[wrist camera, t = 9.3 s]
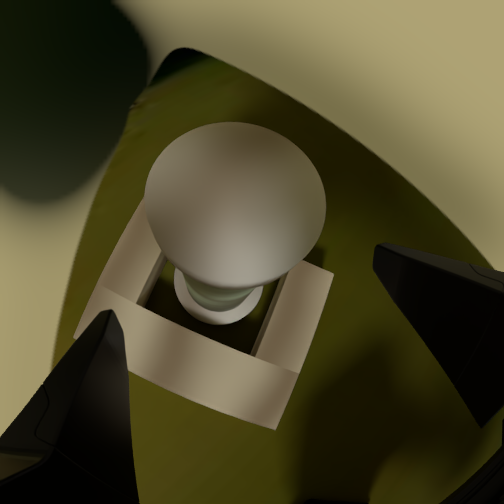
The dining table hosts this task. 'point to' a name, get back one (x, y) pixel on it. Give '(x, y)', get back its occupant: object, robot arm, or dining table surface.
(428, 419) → the dining table surface
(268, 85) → the dining table surface
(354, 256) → the dining table surface
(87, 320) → the notched board
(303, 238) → the bobbin
